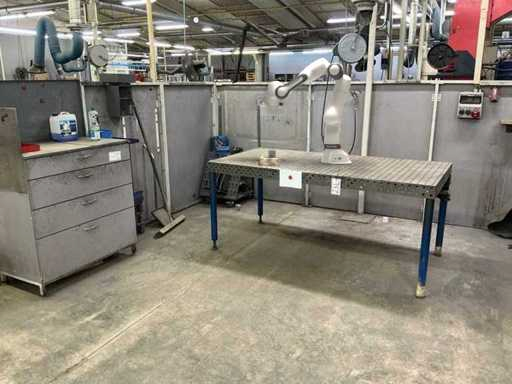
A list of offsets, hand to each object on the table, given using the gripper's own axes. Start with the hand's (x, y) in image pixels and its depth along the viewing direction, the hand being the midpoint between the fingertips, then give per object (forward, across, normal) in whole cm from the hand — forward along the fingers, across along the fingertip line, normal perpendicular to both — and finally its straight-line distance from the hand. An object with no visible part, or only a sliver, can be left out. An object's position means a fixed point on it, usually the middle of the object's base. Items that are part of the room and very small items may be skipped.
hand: (273, 121), depth 303 cm
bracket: (+29, +1, -20) cm, 35 cm away
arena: (+29, -1, -21) cm, 36 cm away
